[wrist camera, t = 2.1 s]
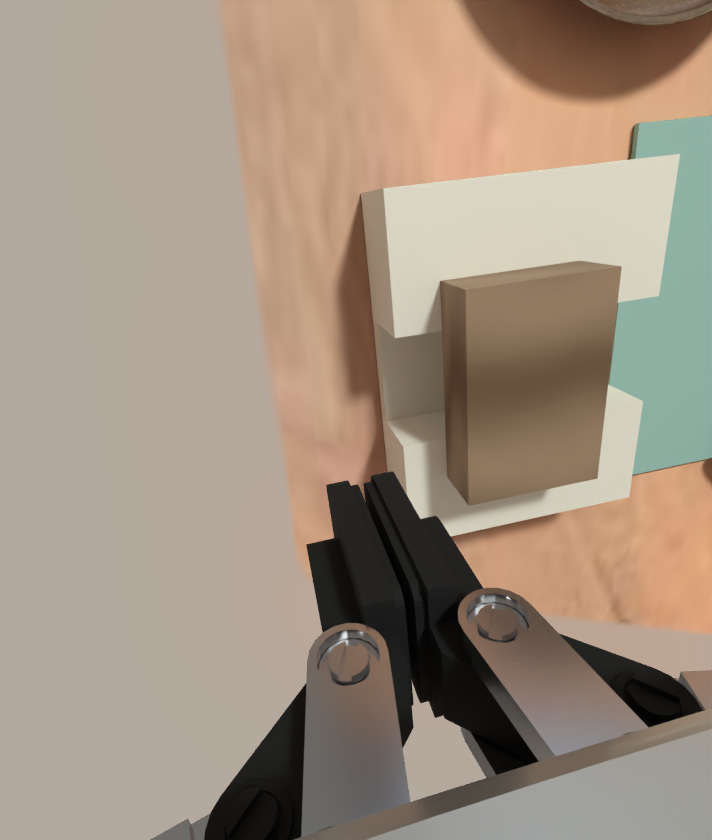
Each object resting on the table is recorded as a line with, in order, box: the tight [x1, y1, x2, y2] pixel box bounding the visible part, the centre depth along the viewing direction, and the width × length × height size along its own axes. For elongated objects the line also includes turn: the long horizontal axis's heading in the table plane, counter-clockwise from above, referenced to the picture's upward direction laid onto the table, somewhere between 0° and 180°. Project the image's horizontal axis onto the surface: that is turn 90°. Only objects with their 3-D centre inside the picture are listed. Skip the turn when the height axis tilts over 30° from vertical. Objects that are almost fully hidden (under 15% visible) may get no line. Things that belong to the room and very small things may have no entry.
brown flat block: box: [440, 261, 622, 506], centre depth 20 cm, size 9×6×2 cm, turn 6°
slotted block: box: [361, 154, 680, 536], centre depth 23 cm, size 16×12×4 cm
